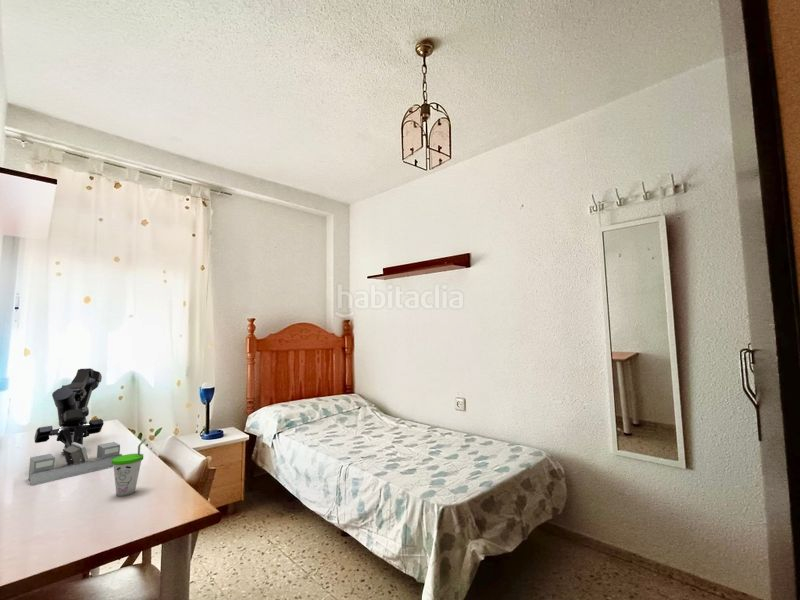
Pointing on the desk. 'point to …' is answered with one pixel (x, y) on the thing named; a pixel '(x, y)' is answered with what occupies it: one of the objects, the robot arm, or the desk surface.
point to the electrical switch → (75, 453)
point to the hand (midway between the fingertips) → (73, 449)
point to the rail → (71, 470)
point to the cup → (127, 472)
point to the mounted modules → (49, 460)
